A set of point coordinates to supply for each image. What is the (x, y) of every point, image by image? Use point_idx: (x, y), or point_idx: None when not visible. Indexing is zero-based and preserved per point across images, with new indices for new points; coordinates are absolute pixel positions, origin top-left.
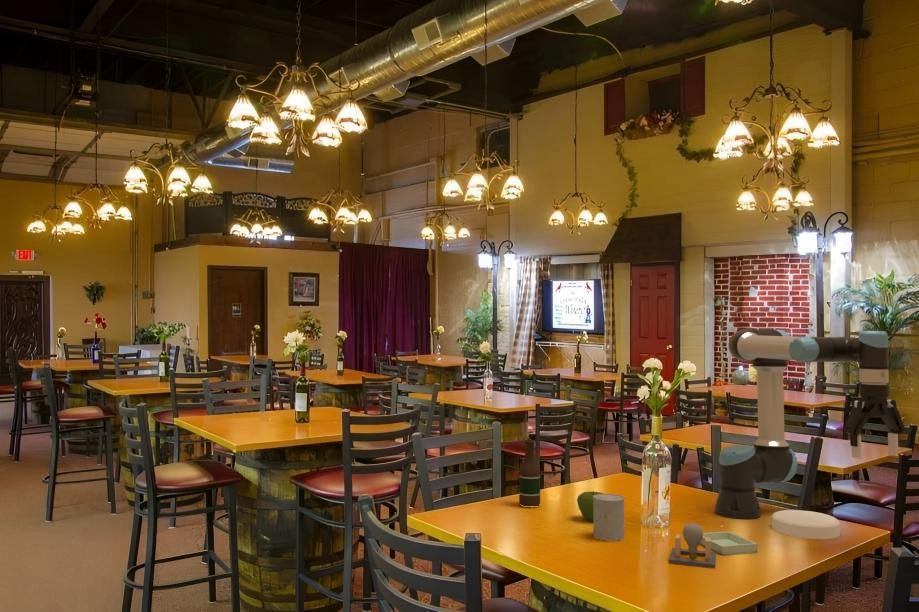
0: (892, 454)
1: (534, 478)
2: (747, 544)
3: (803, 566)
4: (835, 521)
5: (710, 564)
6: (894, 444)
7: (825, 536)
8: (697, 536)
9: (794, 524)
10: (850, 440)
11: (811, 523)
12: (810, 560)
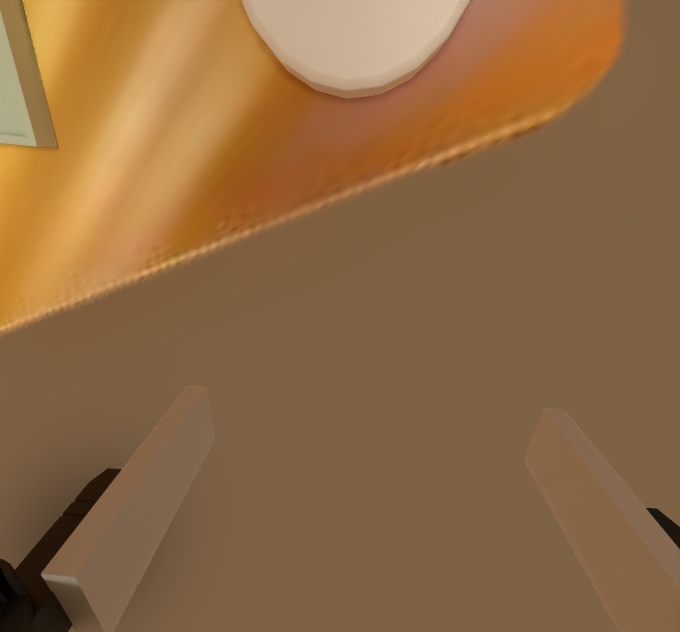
0: (538, 443)
1: None
2: (4, 142)
3: (121, 274)
4: (410, 52)
5: None
6: (579, 537)
7: (335, 94)
8: None
9: (247, 9)
10: (61, 520)
11: (299, 46)
12: (161, 246)
